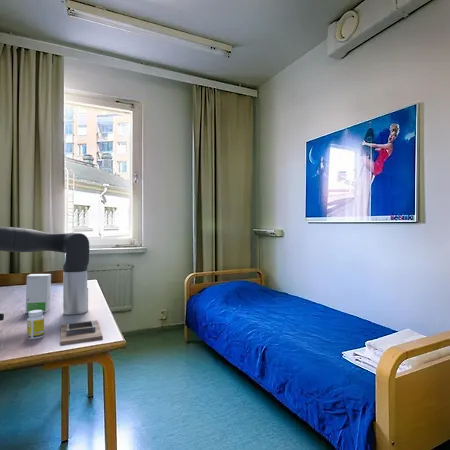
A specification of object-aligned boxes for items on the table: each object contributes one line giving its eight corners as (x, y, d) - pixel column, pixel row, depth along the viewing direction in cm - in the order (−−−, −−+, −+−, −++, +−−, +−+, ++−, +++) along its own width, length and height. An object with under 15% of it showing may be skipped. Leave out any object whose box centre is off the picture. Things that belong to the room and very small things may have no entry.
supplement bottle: (46, 334, 110) (46, 309, 110) (39, 339, 105) (39, 312, 105) (32, 335, 110) (32, 309, 110) (24, 339, 105) (23, 313, 105)
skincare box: (25, 313, 137) (25, 276, 138) (29, 310, 144) (29, 273, 144) (47, 312, 140) (47, 275, 140) (51, 308, 146) (51, 273, 146)
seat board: (61, 327, 118) (61, 320, 118) (97, 322, 123) (97, 316, 123) (60, 345, 100) (60, 336, 100) (102, 339, 105) (102, 331, 105)
